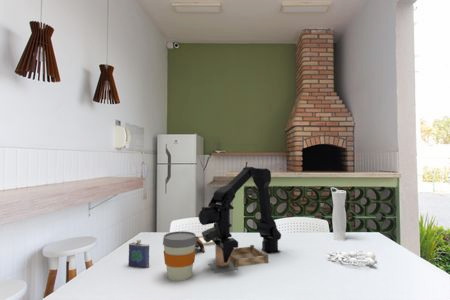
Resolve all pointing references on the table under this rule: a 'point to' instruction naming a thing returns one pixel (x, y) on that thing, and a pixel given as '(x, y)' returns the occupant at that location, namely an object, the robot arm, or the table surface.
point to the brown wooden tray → (247, 256)
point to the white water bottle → (339, 214)
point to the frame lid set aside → (205, 241)
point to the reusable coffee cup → (179, 254)
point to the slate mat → (222, 268)
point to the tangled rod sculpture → (345, 256)
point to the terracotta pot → (220, 256)
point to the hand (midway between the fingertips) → (222, 259)
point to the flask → (138, 255)
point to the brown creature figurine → (199, 244)
